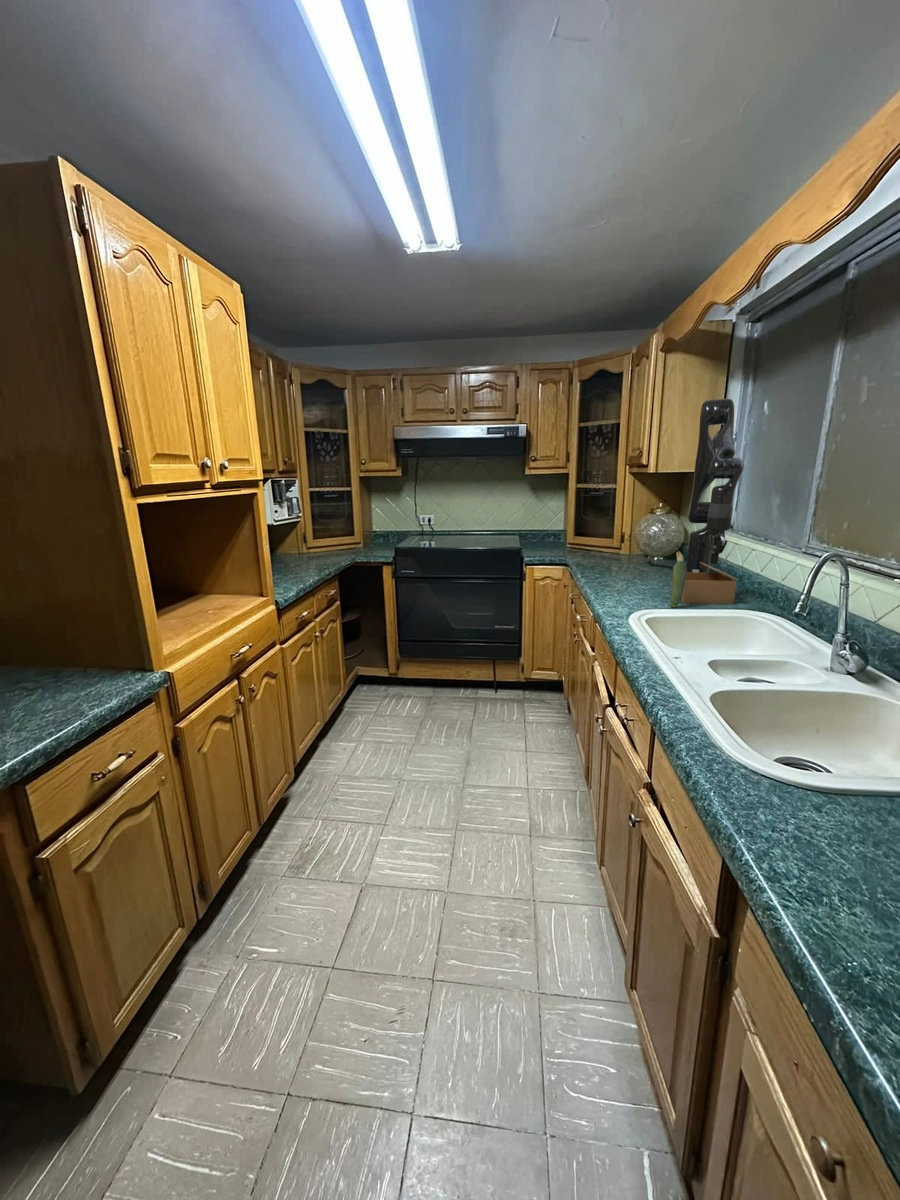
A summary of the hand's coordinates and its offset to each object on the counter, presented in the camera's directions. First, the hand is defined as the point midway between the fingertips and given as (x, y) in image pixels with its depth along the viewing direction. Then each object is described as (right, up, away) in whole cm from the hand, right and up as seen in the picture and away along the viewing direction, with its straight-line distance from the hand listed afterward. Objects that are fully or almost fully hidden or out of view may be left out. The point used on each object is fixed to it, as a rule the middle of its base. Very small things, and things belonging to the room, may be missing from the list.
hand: (713, 563), depth 177 cm
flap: (+2, -3, 0) cm, 3 cm away
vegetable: (-18, -16, -8) cm, 25 cm away
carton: (-3, -13, +4) cm, 14 cm away
